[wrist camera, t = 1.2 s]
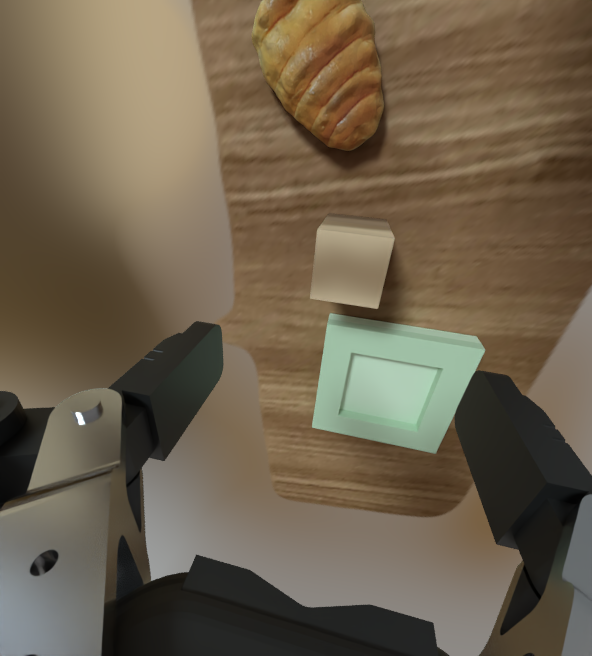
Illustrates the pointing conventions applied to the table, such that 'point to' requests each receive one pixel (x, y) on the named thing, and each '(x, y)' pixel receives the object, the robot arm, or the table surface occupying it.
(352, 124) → the pastry
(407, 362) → the plate
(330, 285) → the wooden block
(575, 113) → the table surface
